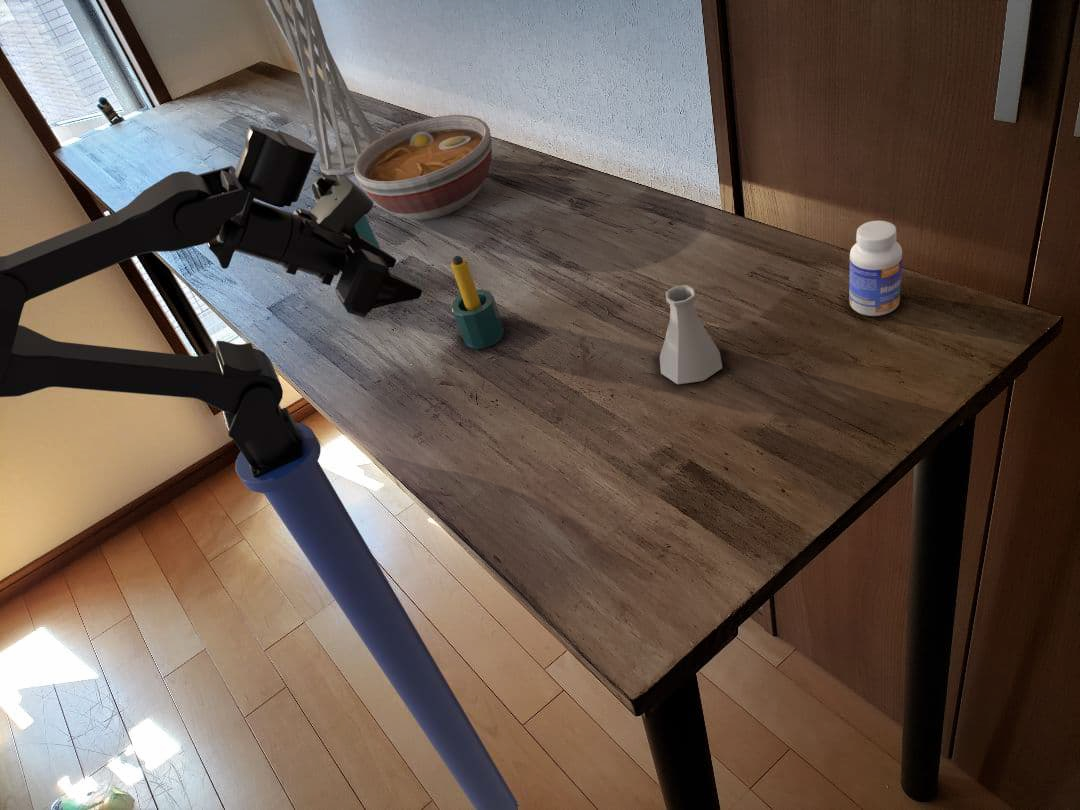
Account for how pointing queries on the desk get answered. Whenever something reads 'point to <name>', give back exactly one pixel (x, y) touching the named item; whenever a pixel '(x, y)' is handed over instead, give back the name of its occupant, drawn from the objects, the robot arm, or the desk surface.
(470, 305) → the pencil
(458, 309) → the pen pot
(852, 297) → the pill bottle
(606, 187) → the desk surface
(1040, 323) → the desk surface
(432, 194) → the bowl
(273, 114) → the desk surface
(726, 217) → the desk surface
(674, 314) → the flask
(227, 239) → the robot arm
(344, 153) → the vase
